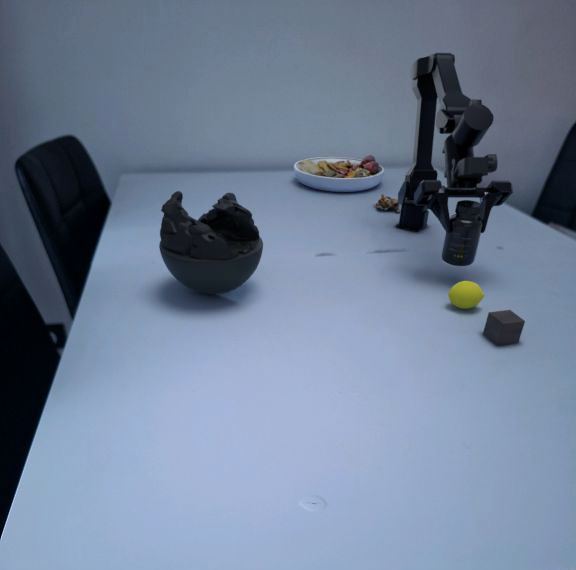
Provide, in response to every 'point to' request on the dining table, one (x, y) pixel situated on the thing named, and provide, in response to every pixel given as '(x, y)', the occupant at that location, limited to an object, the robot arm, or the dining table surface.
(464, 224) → the supplement bottle
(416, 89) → the robot arm
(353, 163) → the bowl
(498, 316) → the walnut block
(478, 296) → the lemon
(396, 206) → the brown mottled lump
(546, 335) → the dining table surface
